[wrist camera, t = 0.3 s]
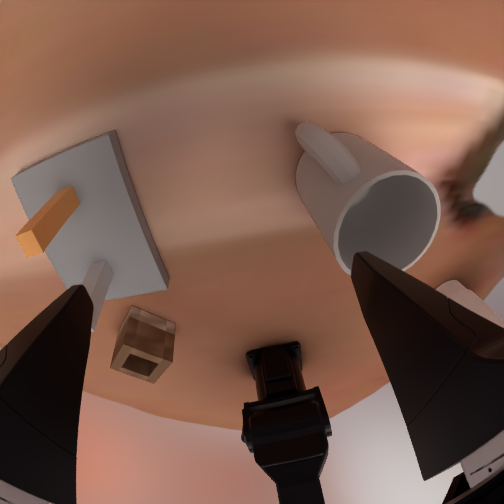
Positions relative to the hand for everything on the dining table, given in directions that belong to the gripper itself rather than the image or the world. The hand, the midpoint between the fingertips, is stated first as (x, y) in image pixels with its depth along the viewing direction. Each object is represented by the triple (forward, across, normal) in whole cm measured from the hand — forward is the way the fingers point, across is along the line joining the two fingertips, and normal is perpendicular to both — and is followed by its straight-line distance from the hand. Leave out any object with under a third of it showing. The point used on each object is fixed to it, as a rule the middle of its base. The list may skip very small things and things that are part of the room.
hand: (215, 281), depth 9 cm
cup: (+14, -8, +1) cm, 17 cm away
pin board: (+14, +11, +4) cm, 18 cm away
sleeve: (+14, +10, +17) cm, 24 cm away
